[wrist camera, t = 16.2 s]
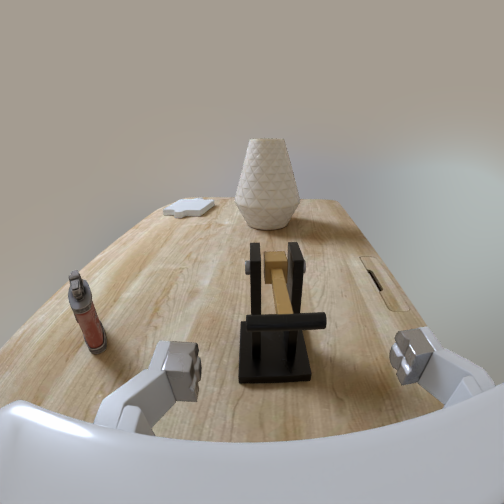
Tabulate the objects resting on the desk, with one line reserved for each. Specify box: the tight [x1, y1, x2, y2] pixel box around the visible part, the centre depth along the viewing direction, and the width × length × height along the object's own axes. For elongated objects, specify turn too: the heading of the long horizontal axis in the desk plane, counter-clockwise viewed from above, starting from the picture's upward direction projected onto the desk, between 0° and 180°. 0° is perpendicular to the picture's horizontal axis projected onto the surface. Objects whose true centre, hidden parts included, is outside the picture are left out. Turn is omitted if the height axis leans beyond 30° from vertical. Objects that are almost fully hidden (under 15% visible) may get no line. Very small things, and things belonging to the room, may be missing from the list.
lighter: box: [68, 270, 107, 354], centre depth 33 cm, size 8×3×10 cm, turn 35°
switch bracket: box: [238, 242, 311, 383], centre depth 31 cm, size 10×8×14 cm
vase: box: [235, 138, 300, 230], centre depth 73 cm, size 17×17×23 cm
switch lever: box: [246, 251, 327, 332], centre depth 24 cm, size 12×6×2 cm, turn 0°
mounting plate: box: [163, 198, 215, 218], centre depth 92 cm, size 18×13×2 cm
